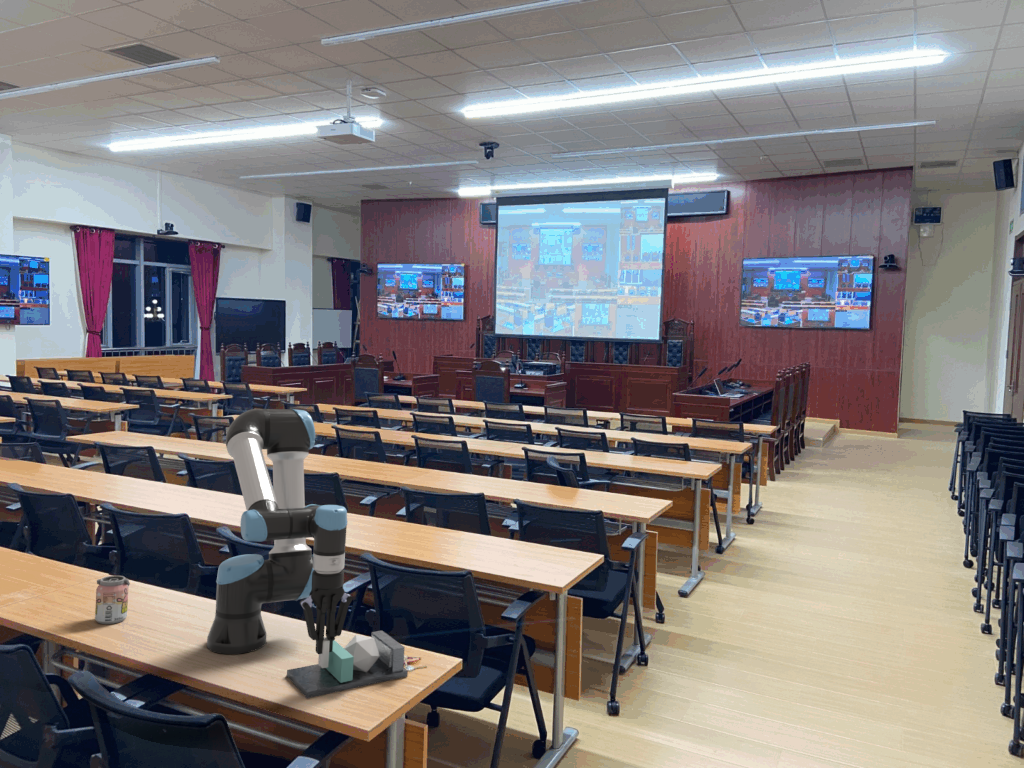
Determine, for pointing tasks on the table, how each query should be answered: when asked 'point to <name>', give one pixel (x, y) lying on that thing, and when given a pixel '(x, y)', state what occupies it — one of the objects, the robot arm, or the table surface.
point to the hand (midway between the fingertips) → (323, 665)
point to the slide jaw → (340, 663)
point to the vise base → (384, 669)
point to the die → (362, 652)
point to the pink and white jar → (111, 599)
